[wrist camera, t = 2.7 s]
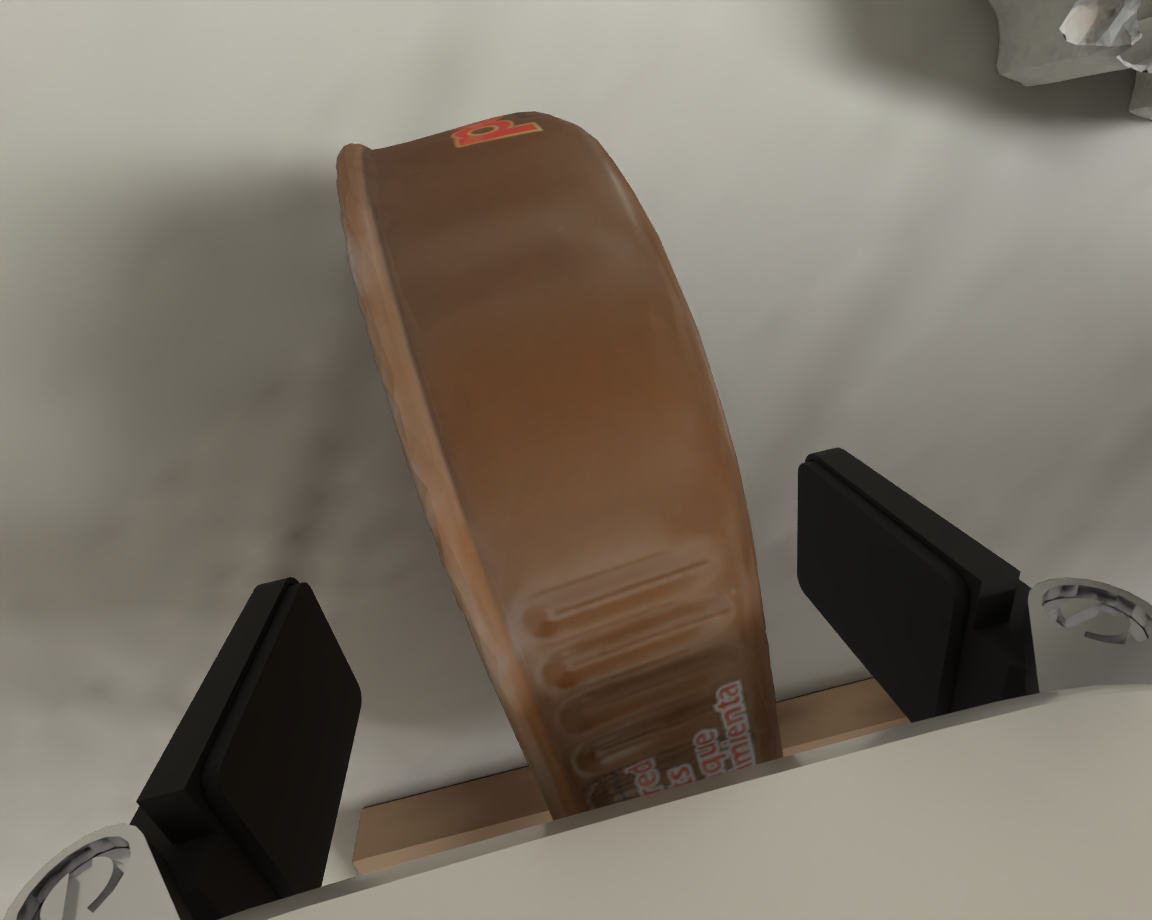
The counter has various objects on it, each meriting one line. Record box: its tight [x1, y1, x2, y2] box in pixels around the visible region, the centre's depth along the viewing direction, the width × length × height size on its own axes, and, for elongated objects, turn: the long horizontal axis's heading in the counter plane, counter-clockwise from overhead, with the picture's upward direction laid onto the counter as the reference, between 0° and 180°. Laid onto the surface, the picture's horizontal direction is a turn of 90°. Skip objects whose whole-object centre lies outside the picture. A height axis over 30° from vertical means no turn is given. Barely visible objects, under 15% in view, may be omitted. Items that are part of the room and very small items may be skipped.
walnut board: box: [352, 678, 911, 875], centre depth 20 cm, size 20×12×2 cm, turn 100°
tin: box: [336, 112, 783, 821], centre depth 10 cm, size 15×3×8 cm, turn 14°
